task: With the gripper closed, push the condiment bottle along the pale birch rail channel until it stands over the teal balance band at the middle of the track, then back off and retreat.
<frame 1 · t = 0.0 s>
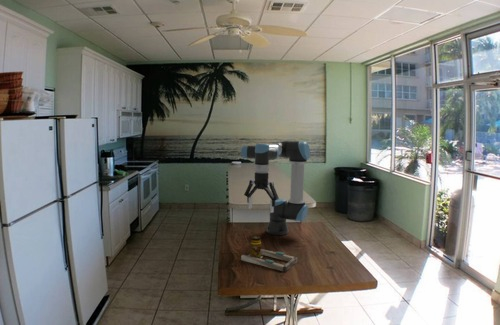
hand: (260, 210, 175), 28 cm above the table, fingers open, 13 cm apart
rail track: (269, 261, 176), on the table
condiment: (254, 257, 181), on the table
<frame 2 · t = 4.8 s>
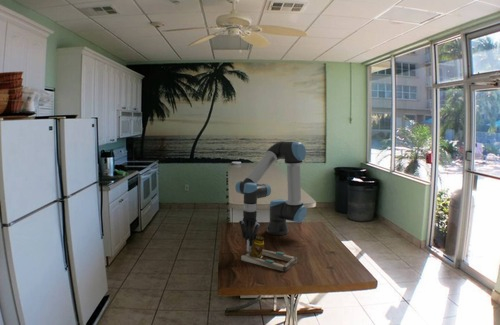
hand: (248, 250, 182), 3 cm above the table, fingers closed
condiment: (254, 256, 181), point 1 cm above the table, touching gripper, hand
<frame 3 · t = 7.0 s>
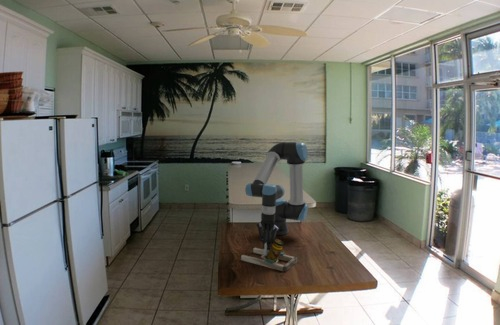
hand: (266, 254, 176), 4 cm above the table, fingers closed
condiment: (269, 259, 175), point 1 cm above the table, touching gripper
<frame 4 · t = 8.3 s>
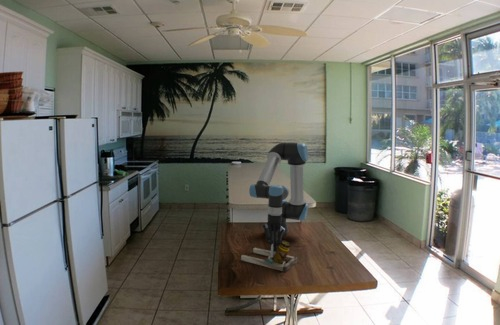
hand: (272, 256, 174), 3 cm above the table, fingers closed
condiment: (276, 260, 173), point 1 cm above the table, touching gripper
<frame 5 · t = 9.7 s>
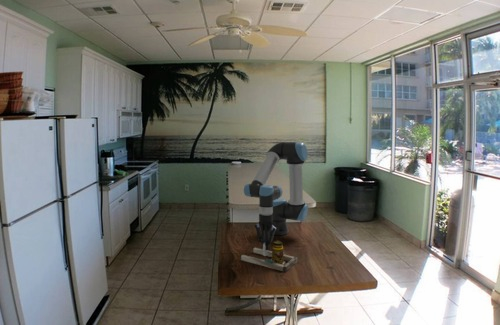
hand: (265, 255, 177), 3 cm above the table, fingers closed
condiment: (275, 263, 174), on the table
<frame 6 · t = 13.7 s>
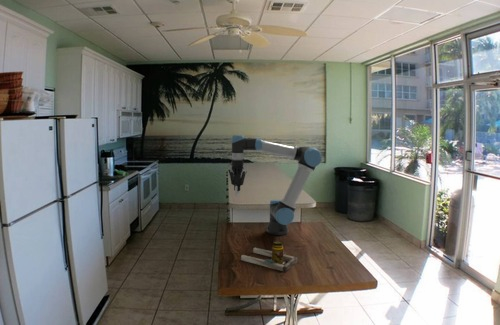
hand: (237, 195, 206), 29 cm above the table, fingers closed
nothing on the table moved.
at the end: condiment inside the target area (0.7 cm from its centre), on the table; condiment tilted 0°; condiment moved 13.9 cm from its start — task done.
